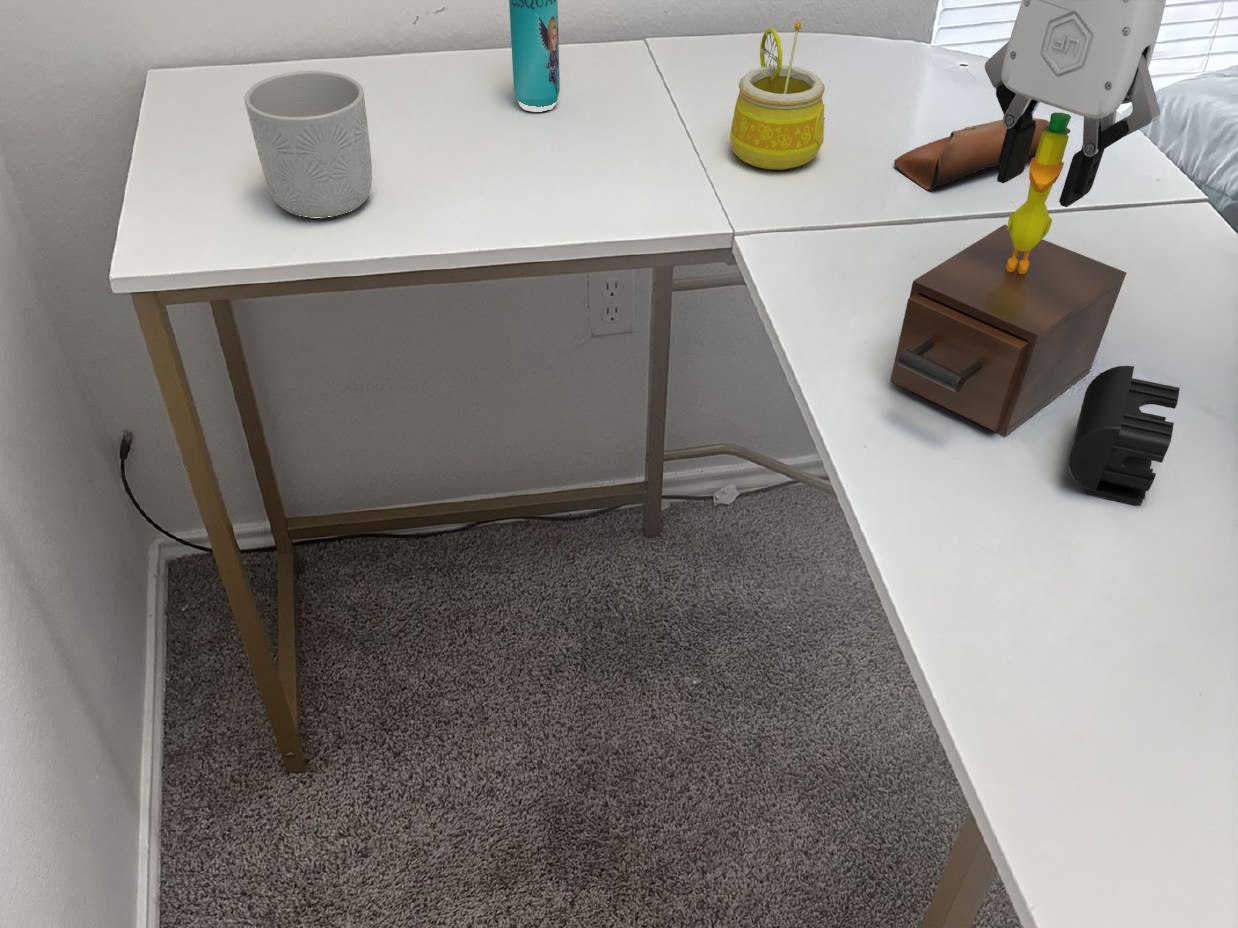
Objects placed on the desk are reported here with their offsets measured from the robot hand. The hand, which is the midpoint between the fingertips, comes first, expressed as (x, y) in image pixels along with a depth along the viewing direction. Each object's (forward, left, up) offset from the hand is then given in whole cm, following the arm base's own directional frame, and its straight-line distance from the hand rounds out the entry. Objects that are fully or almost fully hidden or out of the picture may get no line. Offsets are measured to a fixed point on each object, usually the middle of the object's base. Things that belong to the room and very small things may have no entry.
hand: (1040, 186), depth 95 cm
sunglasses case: (+26, -36, -17) cm, 47 cm away
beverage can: (+74, -11, -17) cm, 77 cm away
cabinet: (-1, +1, -16) cm, 17 cm away
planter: (+72, +24, -17) cm, 78 cm away
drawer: (-1, +5, -16) cm, 16 cm away
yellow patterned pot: (+44, -22, -17) cm, 52 cm away
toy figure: (0, 0, -7) cm, 7 cm away
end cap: (-16, +6, -17) cm, 24 cm away
